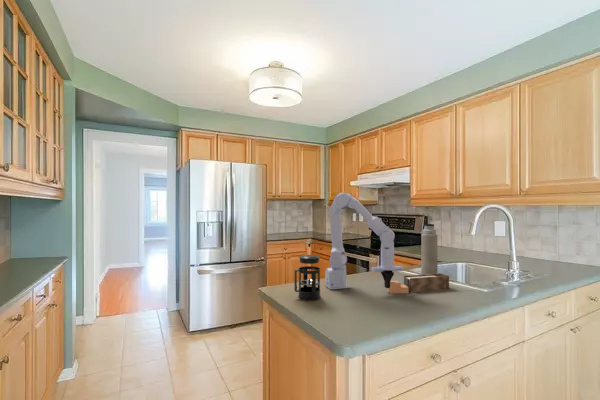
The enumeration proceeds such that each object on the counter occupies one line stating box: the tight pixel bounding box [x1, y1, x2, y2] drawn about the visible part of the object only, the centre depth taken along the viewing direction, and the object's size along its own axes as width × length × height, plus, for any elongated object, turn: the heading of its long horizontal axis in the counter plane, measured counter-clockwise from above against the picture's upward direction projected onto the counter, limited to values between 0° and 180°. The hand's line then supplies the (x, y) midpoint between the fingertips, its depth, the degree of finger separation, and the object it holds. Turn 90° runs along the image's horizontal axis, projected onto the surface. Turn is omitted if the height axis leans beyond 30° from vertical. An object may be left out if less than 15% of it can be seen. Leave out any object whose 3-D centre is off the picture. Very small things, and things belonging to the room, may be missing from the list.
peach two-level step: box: [386, 280, 410, 294], centre depth 136 cm, size 8×4×4 cm, turn 92°
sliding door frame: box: [403, 272, 450, 293], centre depth 140 cm, size 20×6×6 cm, turn 104°
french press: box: [293, 241, 321, 302], centre depth 128 cm, size 12×9×23 cm
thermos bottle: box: [420, 223, 439, 274], centre depth 164 cm, size 8×8×28 cm
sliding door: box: [403, 276, 433, 291], centre depth 139 cm, size 16×3×5 cm, turn 104°
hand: (387, 287), depth 135 cm, fingers closed
